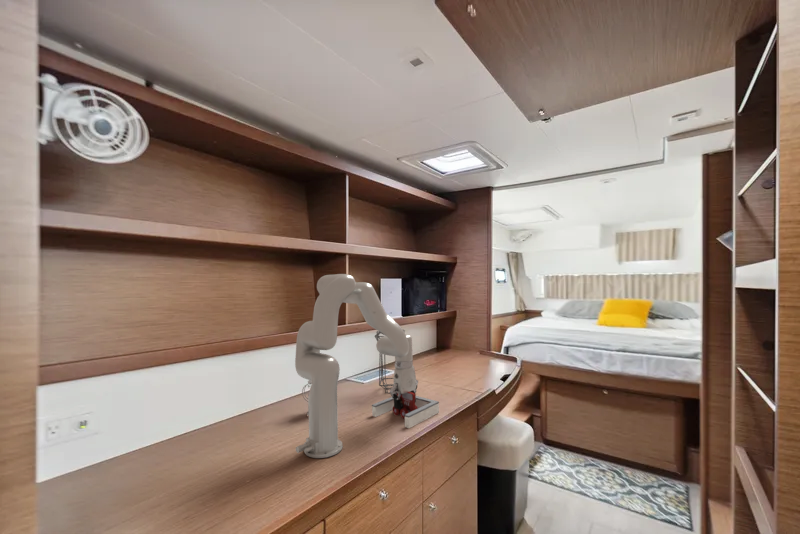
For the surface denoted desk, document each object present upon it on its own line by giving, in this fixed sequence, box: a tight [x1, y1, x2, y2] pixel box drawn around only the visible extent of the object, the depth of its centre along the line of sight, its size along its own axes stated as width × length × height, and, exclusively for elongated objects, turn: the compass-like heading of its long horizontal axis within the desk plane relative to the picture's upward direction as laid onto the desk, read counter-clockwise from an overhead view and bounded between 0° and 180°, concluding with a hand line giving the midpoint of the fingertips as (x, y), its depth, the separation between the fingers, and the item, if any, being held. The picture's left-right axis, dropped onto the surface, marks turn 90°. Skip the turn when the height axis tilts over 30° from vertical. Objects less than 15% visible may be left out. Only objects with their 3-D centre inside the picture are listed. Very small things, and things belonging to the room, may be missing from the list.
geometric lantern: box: [374, 329, 406, 394], centre depth 178 cm, size 16×16×35 cm
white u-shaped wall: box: [371, 395, 440, 429], centre depth 146 cm, size 20×20×5 cm
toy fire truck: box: [392, 392, 418, 420], centre depth 146 cm, size 7×12×10 cm, turn 41°
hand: (405, 405), depth 146 cm, fingers open, 9 cm apart
